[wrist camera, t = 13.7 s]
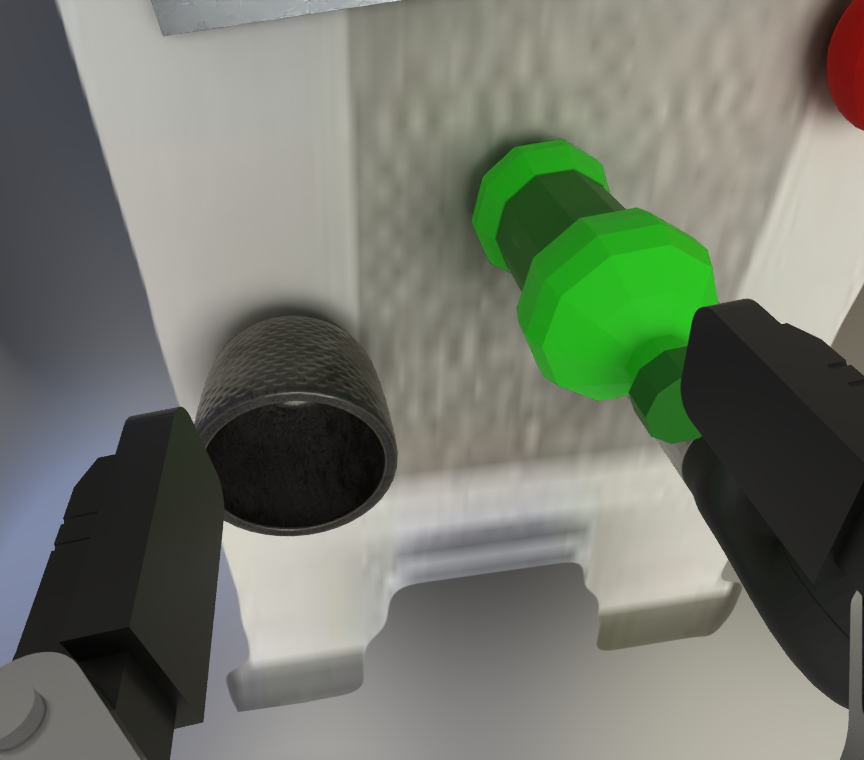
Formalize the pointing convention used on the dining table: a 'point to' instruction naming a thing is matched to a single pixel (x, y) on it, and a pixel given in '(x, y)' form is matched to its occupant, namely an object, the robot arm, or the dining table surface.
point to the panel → (238, 12)
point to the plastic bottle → (595, 281)
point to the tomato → (848, 64)
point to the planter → (296, 428)
